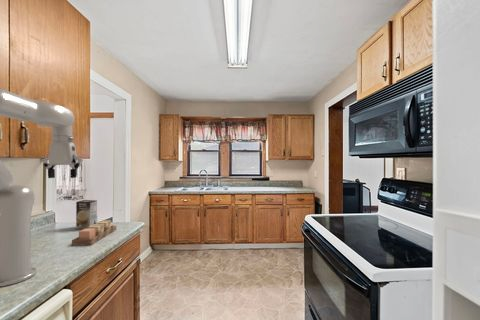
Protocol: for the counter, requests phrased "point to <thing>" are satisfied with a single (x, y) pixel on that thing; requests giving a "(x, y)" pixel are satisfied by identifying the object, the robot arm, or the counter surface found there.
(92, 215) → the coffee box
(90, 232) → the brick cube
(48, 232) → the counter surface
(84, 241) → the walnut tray
